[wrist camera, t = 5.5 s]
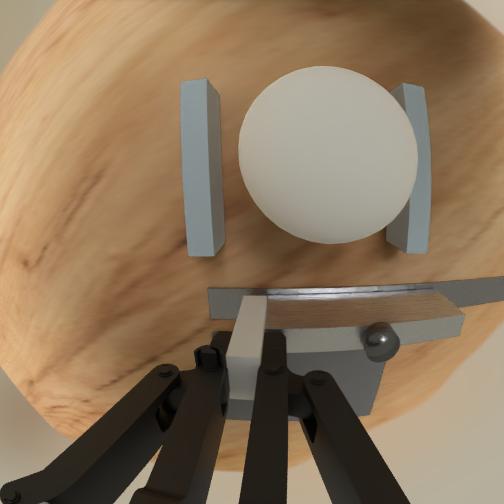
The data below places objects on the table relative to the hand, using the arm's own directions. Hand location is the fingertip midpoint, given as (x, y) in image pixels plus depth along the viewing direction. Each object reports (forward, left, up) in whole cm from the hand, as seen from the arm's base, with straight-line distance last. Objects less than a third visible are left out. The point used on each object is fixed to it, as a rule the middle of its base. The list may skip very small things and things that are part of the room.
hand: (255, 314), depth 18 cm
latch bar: (0, +7, -2) cm, 7 cm away
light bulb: (-9, +4, -2) cm, 10 cm away
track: (0, +11, -2) cm, 11 cm away
